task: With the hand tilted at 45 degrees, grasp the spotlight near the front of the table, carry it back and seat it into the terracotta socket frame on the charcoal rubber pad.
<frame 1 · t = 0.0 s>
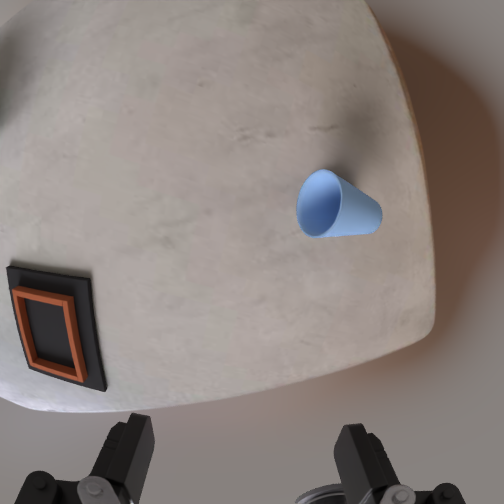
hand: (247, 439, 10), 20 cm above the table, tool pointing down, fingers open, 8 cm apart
pad: (54, 329, 31), on the table
spotlight: (321, 202, 28), on the table
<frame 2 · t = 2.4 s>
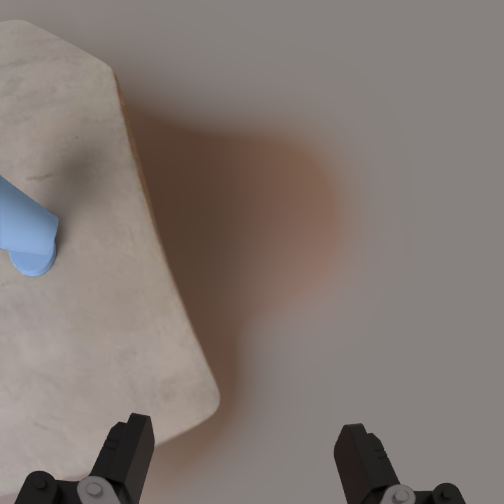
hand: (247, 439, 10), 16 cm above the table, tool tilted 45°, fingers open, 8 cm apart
spotlight: (30, 251, 21), on the table
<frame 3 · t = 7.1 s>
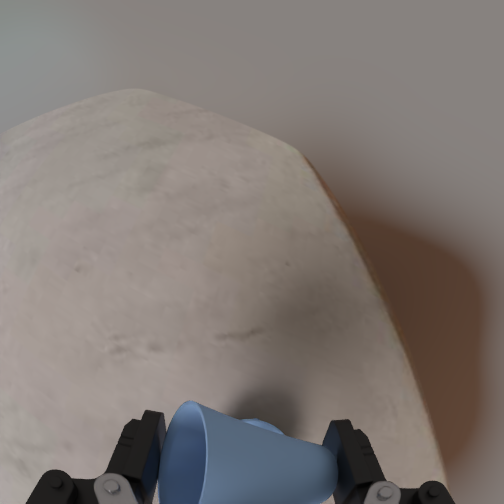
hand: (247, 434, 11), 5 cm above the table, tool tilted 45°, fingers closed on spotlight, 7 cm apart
spotlight: (240, 452, 14), on the table, touching gripper
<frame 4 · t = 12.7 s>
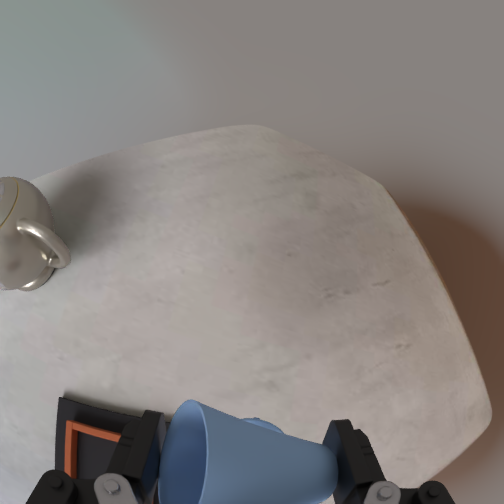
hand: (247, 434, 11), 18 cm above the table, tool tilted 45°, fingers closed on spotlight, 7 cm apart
pad: (112, 478, 21), on the table
spotlight: (240, 451, 14), point 13 cm above the table, touching gripper
teapot: (42, 267, 33), on the table
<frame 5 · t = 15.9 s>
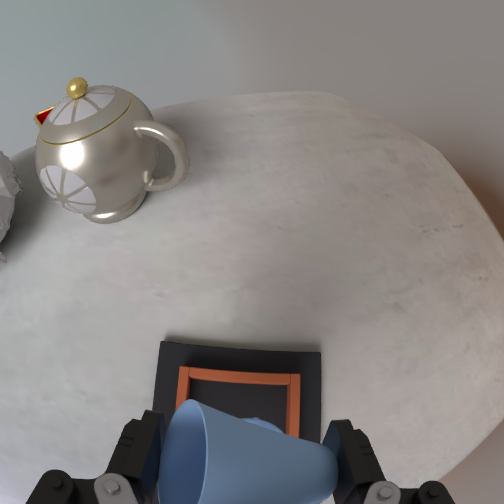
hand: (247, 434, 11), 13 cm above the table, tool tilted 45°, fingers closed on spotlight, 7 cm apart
pad: (235, 439, 21), on the table
spotlight: (240, 451, 14), point 8 cm above the table, touching gripper
teapot: (124, 200, 33), on the table
when the fingers open (6 cm above the table, at t = 18.6 s): spotlight stays where it is, resting on pad.
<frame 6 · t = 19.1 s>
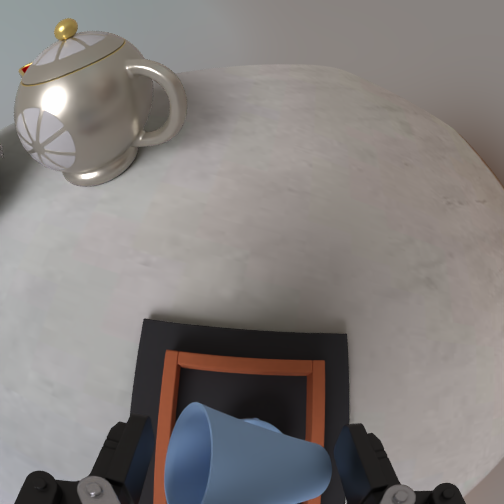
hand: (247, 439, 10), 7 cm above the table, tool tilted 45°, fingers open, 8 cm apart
pad: (239, 447, 16), on the table
spotlight: (240, 450, 15), point 1 cm above the table, touching pad
teapot: (112, 162, 28), on the table
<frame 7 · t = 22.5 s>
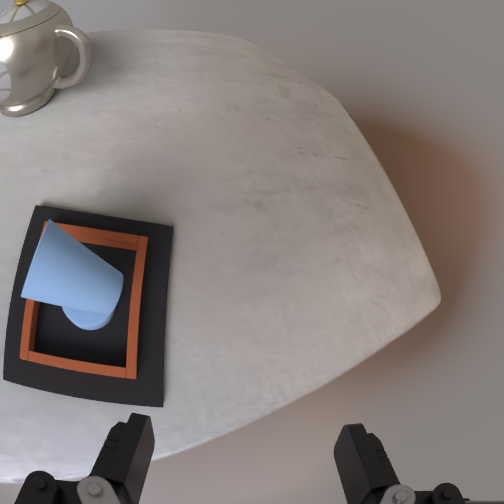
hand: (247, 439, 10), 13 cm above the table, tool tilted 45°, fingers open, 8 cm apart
pad: (85, 302, 22), on the table
spotlight: (85, 301, 21), point 1 cm above the table, touching pad
teapot: (34, 100, 26), on the table
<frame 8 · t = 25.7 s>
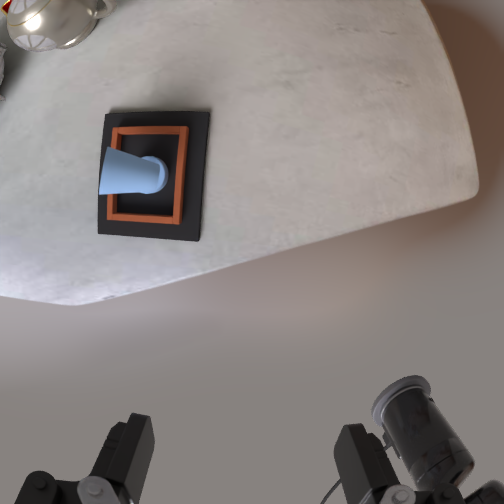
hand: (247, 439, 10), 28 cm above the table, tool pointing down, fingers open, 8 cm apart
pad: (149, 173, 35), on the table
spotlight: (148, 174, 34), point 1 cm above the table, touching pad
teapot: (83, 26, 29), on the table
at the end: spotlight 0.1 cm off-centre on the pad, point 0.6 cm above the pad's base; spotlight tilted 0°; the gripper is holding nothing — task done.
